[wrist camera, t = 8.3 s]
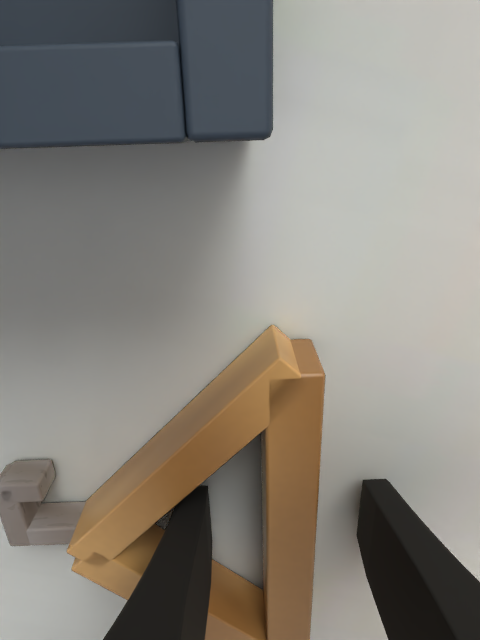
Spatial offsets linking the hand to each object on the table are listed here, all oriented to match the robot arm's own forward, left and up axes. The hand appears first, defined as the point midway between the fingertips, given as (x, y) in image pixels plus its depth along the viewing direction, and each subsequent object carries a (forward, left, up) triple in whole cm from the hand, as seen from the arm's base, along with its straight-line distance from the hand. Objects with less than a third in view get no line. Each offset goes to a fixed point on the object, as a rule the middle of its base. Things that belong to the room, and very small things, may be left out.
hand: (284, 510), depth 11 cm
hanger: (-3, 0, 0) cm, 3 cm away
